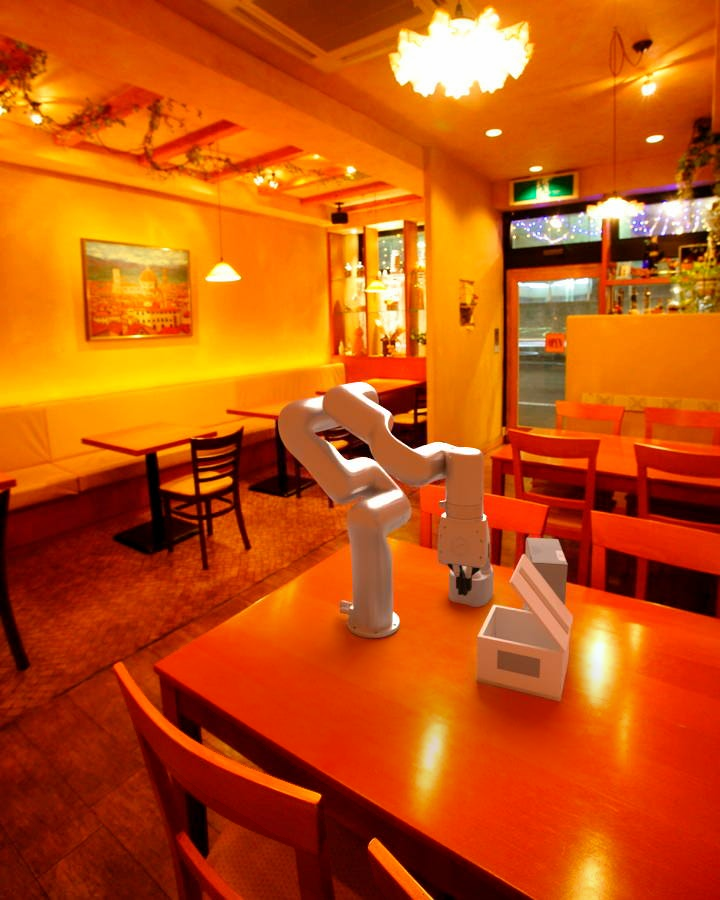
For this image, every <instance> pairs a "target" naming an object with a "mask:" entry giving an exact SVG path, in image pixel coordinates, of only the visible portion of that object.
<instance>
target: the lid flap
mask: <svg viewBox="0 0 720 900" xmlns="http://www.w3.org/2000/svg"><path fill="white" fill-rule="evenodd" d="M509 585H510V586H511V588H512V590H514V591H515V593H516V594H517V595H518V596H519V598H520V600H521V601H522V603H523V602H524V603H525V604H526V606H527V607H528V608H529V610H530V611H531V612H532V613H533V615H534V616H535V617H536V619H537V620H538V621H539V623H540V624H541V625H542V626H543V628H544V629H545V630H546V632H547V633H548V634H549V636H550V637H551V638H552V639H553V641H554V642H555V643H556V645H557V646H558V647H559V649H560V650H561V651H562V652H563V653H565V652H566V649H567V644H568V640H569V635H570V636H571V629H572V625H573V622H574V621H573V619H574V616H573V614H572V613H571V612H570V611H569V610H568V608H567V607H566V604H565V605H564V604H563V603H562V601H561V600H560V599H559V598H558V596H557V595H556V594H555V592H554V591H553V590H552V589H551V587H550V586H549V585H548V583H547V582H546V581H545V580H544V578H543V577H542V576H541V574H540V573H539V572H538V571H537V569H536V568H535V567H534V565H533V564H532V563H531V562H530V560H529V559H528V558H527V556H526V553H523V554H522V555H521V557H520V559H519V561H518V563H517V565H516V568H515V570H514V571H513V573H512V576H511V577H510V580H509ZM569 641H570V640H569Z"/></svg>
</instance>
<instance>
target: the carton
mask: <svg viewBox="0 0 720 900" xmlns="http://www.w3.org/2000/svg"><path fill="white" fill-rule="evenodd" d="M570 637H571V634H570V635H569V640H568V644H567V649H566V652H565V653H563V652H562V651H561V650H560V649H559V647H558V646H557V645H556V643H555V642H554V641H553V639H552V638H551V637H550V636H549V634H548V633H547V632H546V630H545V629H544V628H543V626H542V625H541V624H540V623H539V621H538V620H537V619H536V617H535V616H534V615H533V613H532V612H531V611H526V610H523V609H519V608H514V607H509V606H504V605H503V606H502V605H498V604H493V605H492V606H491V609H490V610H489V613H488V615H487V616H486V619H485V620H484V622H483V625H482V626H481V629H480V631H479V633H478V634H477V648H476V650H477V651H476V652H477V653H476V682H479V683H483V684H485V685H486V684H487V685H489V686H495V687H498V688H503V689H506V690H511V691H515V692H519V693H523V694H527V695H531V696H535V697H539V698H544V699H548V700H553V701H556V702H561V700H562V695H563V690H564V685H565V680H566V675H567V671H568V664H569V655H570V640H571V639H570Z"/></svg>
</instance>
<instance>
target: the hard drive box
mask: <svg viewBox="0 0 720 900" xmlns="http://www.w3.org/2000/svg"><path fill="white" fill-rule="evenodd" d="M525 555H526V556H527V558H528V559H529V560H530V562H531V563H532V564H533V565H534V567H535V568H536V569H537V571H538V572H539V573H540V574H541V576H542V577H543V578H544V580H545V581H546V582H547V583H548V585H549V586H550V587H551V589H552V590H553V591H554V592H555V594H556V595H557V596H558V598H559V599H560V600H561V601H562V603H563V604H564V605H565V606H566V596H567V595H566V593H567V577H568V565H569V564H568V562H567V559H566V556H565V554H564V552H563V549H562V546H561V543H560V541H559V539H557V538H545V537H544V538H542V537H541V538H540V537H526V539H525ZM522 603H523V604H522V608H523V609H522V610H526V611H530V610H529V608H528V607H527V606H526V604H525V603H524V602H523V601H522Z"/></svg>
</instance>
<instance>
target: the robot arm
mask: <svg viewBox="0 0 720 900" xmlns="http://www.w3.org/2000/svg"><path fill="white" fill-rule="evenodd" d="M379 403H380V401H379V395H378V393H377V390H375V388H374V387H373V386H371V385H370V384H368V383H366V382H351V383H346V384H339V385H336V386H333V387H332V388H331V387H330V389H329V390H327V391H326V393H325V394H324V395H319V396H313V397H306V398H302V399H297V400H294V401H292V402H290V403H287V404H286V405H285V406H284V407H282V409H281V410H280V412H279V413H278V414H279V415H278V419H277V426H278V427H277V428H278V433H279V437H280V439H281V441H282V444H283V445H284V447H285V448H286V449H287V451H289V453H290V454H291V455H293V457H294V458H295V459H296V460H297V461H298V462H299V463H300V464H301V465H302V466H303V467H304V468H305V469H306V470H307V471H308V472H309V474H310V476H311V477H312V479H314V480H315V482H316V483H317V484H318V485H319V487H320V488H321V489H322V490H323V491H324V493H325V494H326V495H327V496H328V497H329V498H330V499H331V501H333V502H334V503H335V504H339V505H345V504H349V503H352V502H355V501H357V500H358V501H357V502H355V503H354V504H353V505H352V506H351V507H350V508H349V510H348V511H347V513H346V516H345V517H346V519H345V523H346V524H345V525H346V530H347V534H348V539H349V544H350V554H351V574H352V575H351V576H352V577H351V581H352V602H350V601H346V600H340V602H339V613H340V614H344V615H345V614H346V615H348V618H347V623H346V625H347V626H346V627H347V629H348V630H349V631H350V632H351V633H352V634H354V635H356V636H358V637H362V638H365V639H378V638H384V637H388V636H390V635H393V634H394V633H395V632H397V631H398V630H399V629H400V626H401V625H400V624H401V623H400V622H401V621H400V617H399V616H398V615H397V613H395V612H394V581H393V580H394V579H393V578H394V577H393V574H394V573H393V572H394V571H393V552H392V549H391V546H390V545H389V544H390V543H388V539H387V535H388V534H389V533H392V532H393V531H395V530H397V529H399V528H400V527H402V526H404V525H405V524H406V523H408V521H409V520H410V518H411V516H412V505H411V503H410V500H409V498H408V496H407V495H406V494H405V492H404V491H403V490H402V488H400V486H399V485H398V484H397V483H396V482H395V481H394V480H393V479H392V477H393V478H394V479H396V480H397V481H399V482H401V483H402V484H404V485H407V486H410V487H414V488H421V487H424V486H427V485H429V484H431V483H433V482H435V481H439V480H442V479H445V500H442V501H441V500H440V501H438V502H439V503H438V507H439V508H442V509H443V510H444V512H443V513H442V514H441V516H440V522H439V529H438V535H437V537H438V539H437V550H436V551H437V552H436V553H437V559H438V561H437V562H438V563H439V564H441V565H444V566H445V567H446V566H447V567H448V568H449V569H450V570H452V571H453V572H454V575H455V576H456V589H458V595H463V596H466V595H467V594H468V592H469V591H471V589H472V576H473V575H474V574H475V573H476V572H478V571H488V570H489V569H490V567H491V566H492V565H491V563H490V556H491V543H490V542H491V540H490V539H491V538H490V529H489V523H488V519H487V515H485V514H484V501H485V500H484V496H485V495H484V493H485V491H484V490H485V489H484V488H485V487H484V486H485V485H484V482H485V479H484V478H485V456H484V454H483V452H482V451H481V450H480V449H478V448H473V447H458V446H454V445H452V444H449V443H444V442H439V441H438V442H432V443H429V444H426V445H422V446H419V447H416V448H411V447H409V446H408V445H406V444H405V443H403V442H402V441H401V440H399V439H397V438H396V437H395V436H394V435H393V434H392V433H391V432H392V429H393V427H394V422H395V420H394V416H393V414H392V413H391V412H390V411H389V410H387V409H386V408H384V407H383V406H381V405H380V404H379ZM338 427H342V428H343V429H345V430H346V431H348V432H349V433H350V434H352V435H353V436H355V437H357V438H358V439H360V440H361V441H363V442H364V443H365V444H367V445H368V446H369V451H370V453H371V455H372V456H373V458H374V459H371V458H368V457H365V456H364V457H363V456H362V457H355V458H352V459H349V460H348V459H346V458H344V457H343V455H342V454H340V452H339V451H338V450H337V449H336V447H335V446H333V444H331V443H330V442H328V440H326V439H324V438H322V437H320V436H318V435H317V434H316V433H319V432H323V431H327V430H331V429H334V428H338ZM360 499H361V500H360ZM490 565H491V566H490ZM463 566H467V567H466V573H465V572H464V571H463Z"/></svg>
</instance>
